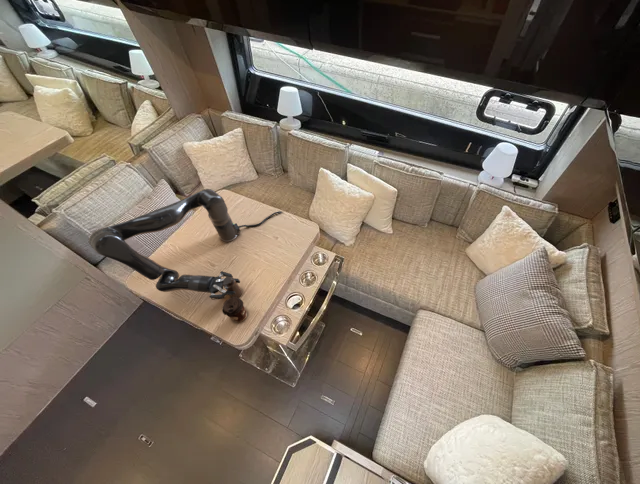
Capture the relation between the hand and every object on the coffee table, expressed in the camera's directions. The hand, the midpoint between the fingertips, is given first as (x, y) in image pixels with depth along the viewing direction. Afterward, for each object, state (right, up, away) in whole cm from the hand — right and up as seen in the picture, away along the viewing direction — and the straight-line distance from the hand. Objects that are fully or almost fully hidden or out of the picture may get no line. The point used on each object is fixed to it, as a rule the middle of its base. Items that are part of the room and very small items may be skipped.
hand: (237, 287), depth 129 cm
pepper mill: (-3, -5, +6) cm, 8 cm away
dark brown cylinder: (+2, -13, -1) cm, 13 cm away
